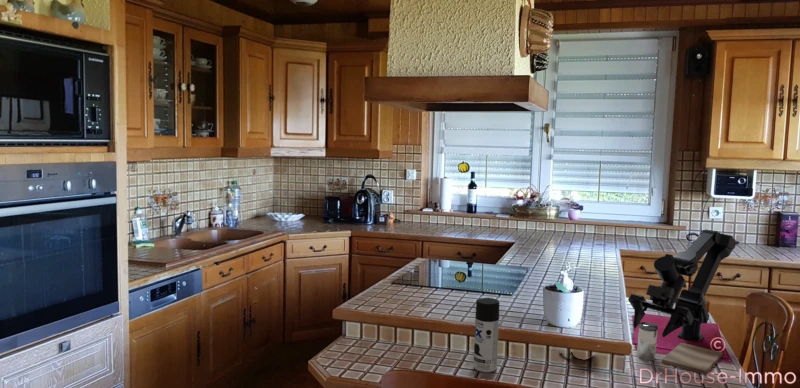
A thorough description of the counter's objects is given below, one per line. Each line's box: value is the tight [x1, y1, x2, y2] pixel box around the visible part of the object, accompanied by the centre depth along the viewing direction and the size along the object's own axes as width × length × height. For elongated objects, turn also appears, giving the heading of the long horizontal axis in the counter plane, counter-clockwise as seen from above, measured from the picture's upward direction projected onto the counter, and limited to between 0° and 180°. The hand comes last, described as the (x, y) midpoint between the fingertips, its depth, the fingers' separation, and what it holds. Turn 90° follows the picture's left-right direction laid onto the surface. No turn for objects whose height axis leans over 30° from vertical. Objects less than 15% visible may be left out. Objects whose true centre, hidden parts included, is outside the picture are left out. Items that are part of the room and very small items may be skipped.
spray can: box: [472, 297, 500, 374], centre depth 173 cm, size 7×7×20 cm
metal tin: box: [636, 321, 659, 361], centre depth 184 cm, size 5×5×10 cm
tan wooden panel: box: [661, 342, 723, 375], centre depth 184 cm, size 18×12×1 cm, turn 139°
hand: (648, 331), depth 184 cm, fingers open, 9 cm apart
